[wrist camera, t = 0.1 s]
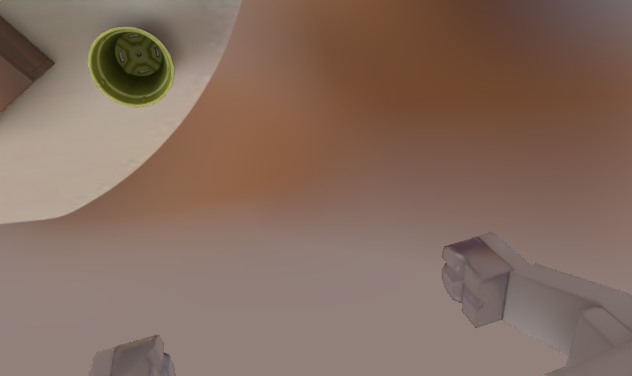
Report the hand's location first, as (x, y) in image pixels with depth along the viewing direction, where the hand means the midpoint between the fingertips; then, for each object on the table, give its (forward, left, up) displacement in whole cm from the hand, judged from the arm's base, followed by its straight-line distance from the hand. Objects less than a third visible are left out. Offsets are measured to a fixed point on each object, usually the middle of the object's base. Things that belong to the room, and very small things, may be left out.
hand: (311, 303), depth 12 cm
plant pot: (-3, -10, -55) cm, 56 cm away
